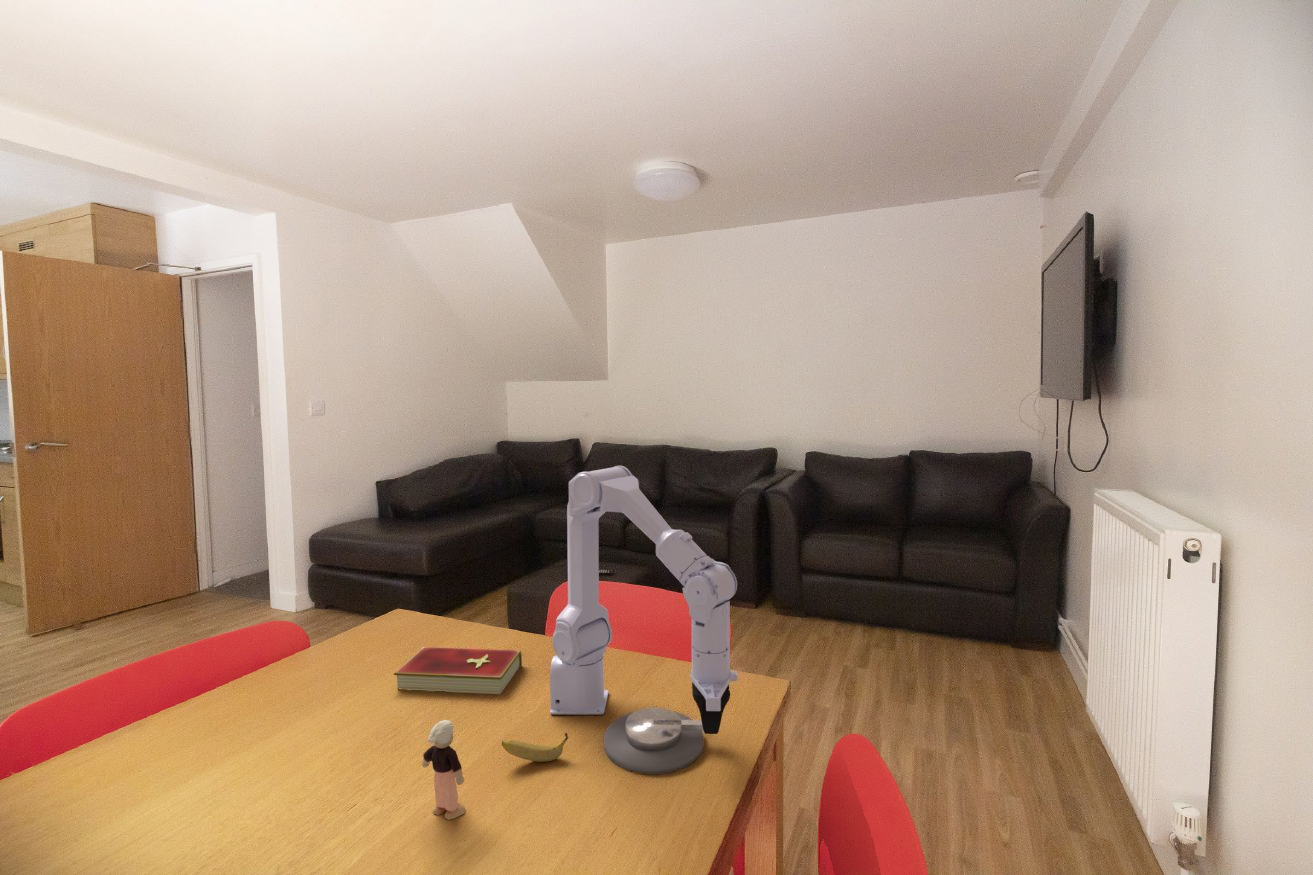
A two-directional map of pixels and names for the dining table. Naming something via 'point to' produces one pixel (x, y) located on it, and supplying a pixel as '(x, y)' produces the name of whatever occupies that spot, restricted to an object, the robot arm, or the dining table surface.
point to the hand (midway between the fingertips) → (710, 731)
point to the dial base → (648, 759)
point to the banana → (534, 750)
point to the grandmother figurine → (444, 770)
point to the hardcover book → (459, 670)
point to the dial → (657, 728)
